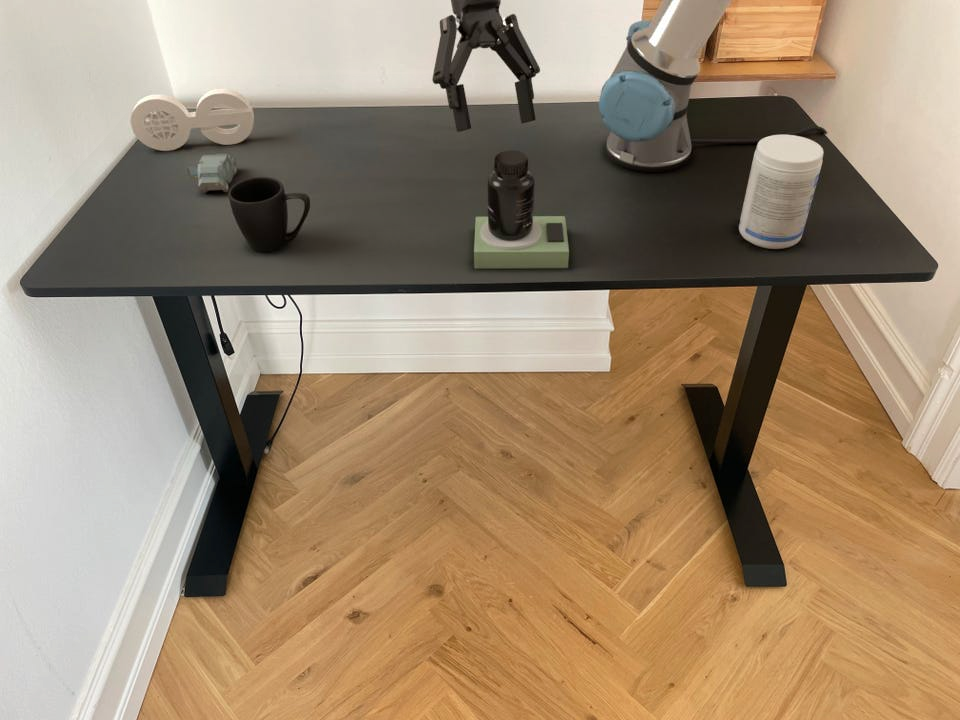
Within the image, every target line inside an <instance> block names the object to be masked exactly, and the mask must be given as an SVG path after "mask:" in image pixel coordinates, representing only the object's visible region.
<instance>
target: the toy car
mask: <svg viewBox="0 0 960 720" xmlns="http://www.w3.org/2000/svg"><path fill="white" fill-rule="evenodd" d="M237 163H238V160H237V158H236V157H235V156H232V155H228V154H226V153H216V154H207V155H205V154H203V155H202V156H201V158H200V159H199V162H198V164H197V166H186V169H187V172H188V176H189V180H197V181H198V190H199V191H202V193H204V194H206V193H208V192H209V191H223V193H228V192H229V190H230V188H229V184H231V182H232V180H233V178H234V176H235V175H237V166H236V165H237Z"/></svg>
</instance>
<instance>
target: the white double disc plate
mask: <svg viewBox="0 0 960 720" xmlns="http://www.w3.org/2000/svg"><path fill="white" fill-rule="evenodd" d="M250 104H251V103H250V102H249V100H248V99H247V98H246V97H245V96H243V94H240V93H239V92H238V91H236V90H233V89H229V88H215V89H212V90H209V91H208V92H205V94H203V95H202V96H201V98H200V99H199V100H198V103H197V105H196V109H195V111H189V110H188V109H187V108H186V107H185V105H183V104H182V103H181V102H180V101H179V100H178V99H175V98H173V97H171V96H169V95H165V94H149V95H146V96H144V97H143V98H141V99H139V100H138V101H137V103H136V104H135V105H134V107H133V109H132V112H131V114H130V126H131V130H132V132H133V134H134V136H135V137H136V138H137V139H138V140H139V141H140V142H141V144H143V145H145V146H147V147H148V148H150V149H153V150H156V151H162V152H169V151H174V150H177V149H179V148H181V147H182V146H184V145H185V144H186V143H187V141H188V140H189V138H190V136H191V133H192V129H200V133H201V134H202V135H203V136H204V137H205V138H207V139H208V140H209V141H211V142H213V143H216V144H219V145H224V146H225V145H227V146H228V145H229V146H230V145H236V144H239V143H242V142H243V141H245V140H246V139H247V138H248V137H249V136H250V134H251V133H252V131H253V129H254V124H255V123H254V121H255V114H254V109H253V107H252V106H251V105H250ZM218 106H229V107H231V108H220V109H213V108H215V107H218ZM146 120H147V121H146ZM232 125H236V126H235V127H232V128H222V127H221V126H232Z"/></svg>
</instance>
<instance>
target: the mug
mask: <svg viewBox="0 0 960 720" xmlns="http://www.w3.org/2000/svg"><path fill="white" fill-rule="evenodd" d="M227 196H228V200H229V205H230V209H231V212H232V215H233V217H234V220H235V223H236V224H237V227H238V228H239V231H240V232H241V234H242V236H243V237H244V239H245V240H246V242H247V243H248V245H249V247H250V249H251V250H252V251H254V252H256V253H261V254H268V253H269V254H270V253H273V252H276V251H279V250H280V249H282V248H283V247H284V246H285V245H286V243H290V242H292V241H294V240H295V239H296V237H297V236H298V235H299V233H300V230H301V228H302V227H303V225H304V223H305V221H306V219H307V217H308V214H309V213H310V209H311V199H310V196H309V194H307V193H305V192H289V193H286V191H285V187H284V184H283V183H282V181H280V180H279V179H277V178H273V177H269V176H256V177H250V178H246V179H243V180H240V181H239V182H236V183H234V184H233V185H232V186H231V187H230V188H229V189H228V192H227ZM294 199H295V200H297V199H298V200H301V201H302V202H303V203H304V208H303V213H302V216H301V218H300V220H299V221H298V224H297V225H296V227H295V228H294V229H293V230H292V231H290V232H288V222H289V213H288V212H289V211H288V202H287V201H288V200H294Z"/></svg>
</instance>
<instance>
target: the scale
mask: <svg viewBox="0 0 960 720" xmlns="http://www.w3.org/2000/svg"><path fill="white" fill-rule="evenodd" d="M474 222H475V225H474V243H473V261H474V263H473V264H474V269H476V270H477V269H568V268H569V258H570V248H569V240H568V229H567V221H566V216H565V215H556V216H555V215H554V216H553V215H542V216H541V215H540V216H538V215H536V216H535V215H533V228H532V231H531V232H530V234H529V235H528V236H526V237H524V238H522V239H519V240H502V239H499V238H497V237H495V236H493V235H492V234H491V233H490V231H489V229H488V216H475V221H474Z"/></svg>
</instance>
